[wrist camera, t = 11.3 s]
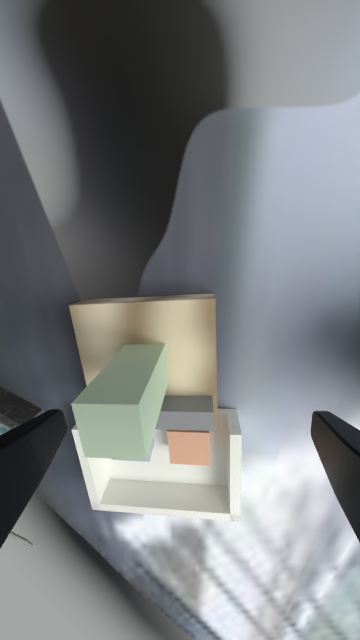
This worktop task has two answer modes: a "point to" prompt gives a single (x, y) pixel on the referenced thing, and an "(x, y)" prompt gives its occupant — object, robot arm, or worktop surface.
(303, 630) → the worktop surface
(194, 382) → the board
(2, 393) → the radio
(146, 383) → the green grey branched block
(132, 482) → the tray
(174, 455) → the tile
